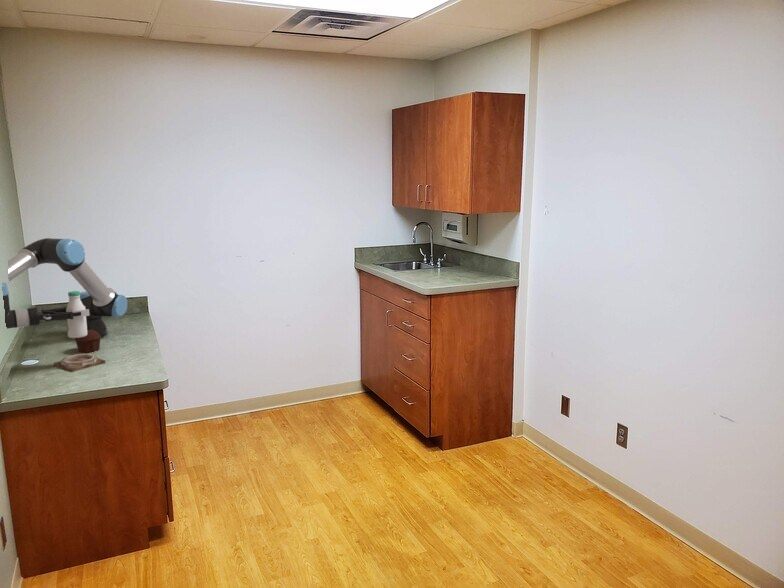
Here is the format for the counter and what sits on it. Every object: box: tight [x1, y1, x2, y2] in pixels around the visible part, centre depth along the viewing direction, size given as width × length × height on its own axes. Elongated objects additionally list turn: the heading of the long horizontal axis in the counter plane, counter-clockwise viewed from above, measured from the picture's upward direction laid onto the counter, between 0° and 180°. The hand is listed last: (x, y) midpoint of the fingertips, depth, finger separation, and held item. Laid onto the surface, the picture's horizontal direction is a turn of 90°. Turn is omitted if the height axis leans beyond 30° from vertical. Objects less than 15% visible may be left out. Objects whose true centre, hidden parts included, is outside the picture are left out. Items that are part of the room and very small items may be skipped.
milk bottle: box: [66, 290, 87, 339], centre depth 267 cm, size 8×8×20 cm
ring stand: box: [53, 353, 106, 372], centre depth 271 cm, size 15×15×3 cm
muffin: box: [74, 330, 102, 354], centre depth 290 cm, size 12×11×10 cm
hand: (87, 310), depth 269 cm, fingers closed on milk bottle, 7 cm apart
